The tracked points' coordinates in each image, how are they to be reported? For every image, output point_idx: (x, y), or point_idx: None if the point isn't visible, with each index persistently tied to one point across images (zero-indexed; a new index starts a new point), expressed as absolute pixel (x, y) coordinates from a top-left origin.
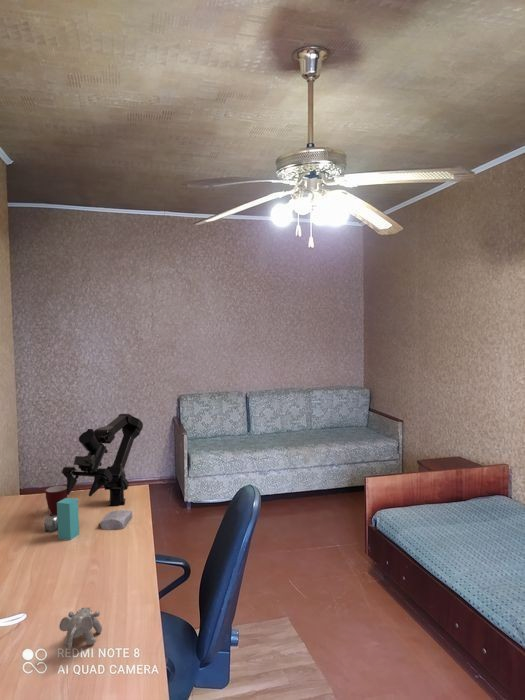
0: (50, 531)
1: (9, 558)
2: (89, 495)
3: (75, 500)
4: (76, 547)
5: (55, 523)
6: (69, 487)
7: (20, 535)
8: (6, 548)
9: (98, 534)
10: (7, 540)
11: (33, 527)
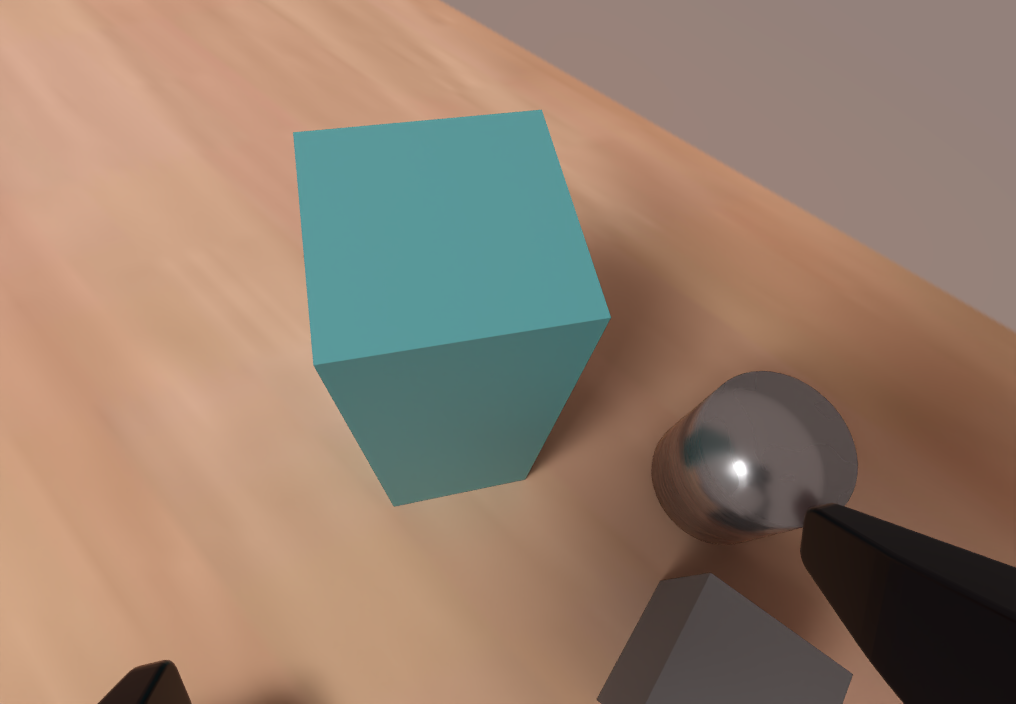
0: (673, 426)
1: (549, 80)
2: (151, 670)
3: (310, 294)
4: (231, 302)
5: (678, 445)
6: (965, 619)
7: (822, 306)
8: (693, 151)
9: (189, 584)
10: (810, 224)
11: (901, 452)
